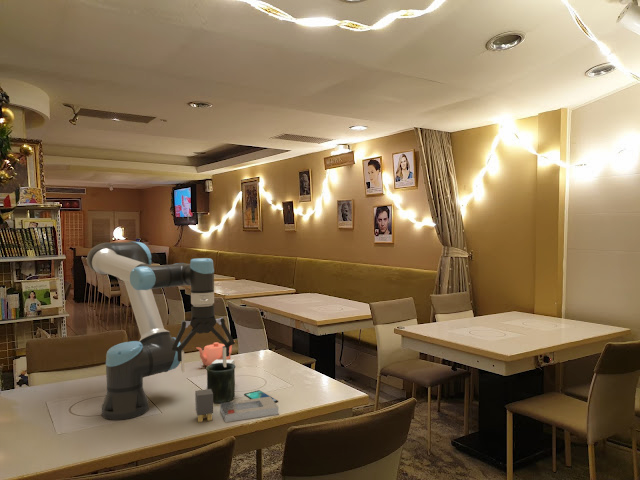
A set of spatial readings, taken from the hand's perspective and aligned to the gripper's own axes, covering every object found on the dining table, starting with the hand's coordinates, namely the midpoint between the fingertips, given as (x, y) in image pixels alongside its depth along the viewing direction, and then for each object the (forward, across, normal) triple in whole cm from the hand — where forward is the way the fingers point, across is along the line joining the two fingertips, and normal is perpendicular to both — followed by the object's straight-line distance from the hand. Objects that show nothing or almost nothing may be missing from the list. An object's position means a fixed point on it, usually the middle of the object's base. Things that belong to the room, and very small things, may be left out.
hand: (204, 368), depth 156 cm
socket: (+17, +15, 0) cm, 23 cm away
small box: (+17, +11, +30) cm, 36 cm away
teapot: (+17, +13, +60) cm, 64 cm away
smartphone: (+18, +22, +12) cm, 31 cm away
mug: (+17, +8, +19) cm, 27 cm away
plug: (+17, 0, 0) cm, 17 cm away
